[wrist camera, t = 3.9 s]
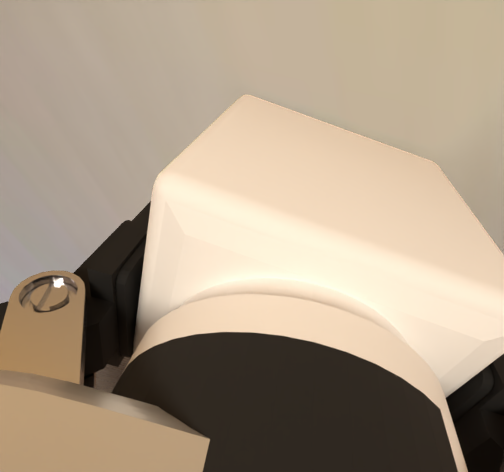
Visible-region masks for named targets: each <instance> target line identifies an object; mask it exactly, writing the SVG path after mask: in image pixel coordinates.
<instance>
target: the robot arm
mask: <svg viewBox="0 0 504 472" xmlns="http://www.w3.org/2000/svg"><path fill="white" fill-rule="evenodd" d="M150 206H151V201H150V202H149V203H148V204H147V206H146V207H145V208H144V209H143V210H142V211H141V212H140V213H139V214H138V215H137V216H136V217H135V218H134V219H133V220H132V221H129V220H127V221H125V222H123V223H122V224H121V225H120V226H119V227H118V228H117V229H116V230H115V231H114V232H113V233H112V234H111V235H110V236H109V237H108V238H107V239H106V240H105V241H104V242H103V243H102V244H101V245H100V247H99V248H98V249H97V250H96V251H95V252H94V253H93V254H92V255H91V256H90V257H89V258H88V259H87V260H86V261H85V262H84V263H83V264H82V265H81V266H80V267H79V268H78V269H77V270H76V271H75V272H74V273H70V272H66V271H47V272H42V273H39V274H36V275H33V276H31V277H29V278H27V279H25V280H24V281H22V282H21V283H20V284H19V285H18V286H17V287H16V288H15V289H14V290H13V292H12V294H11V296H10V299H9V301H8V302H5V303H1V304H0V472H203V468H204V463H205V459H206V455H207V450H208V446H209V442H210V439H209V438H207V437H206V436H204V435H202V434H200V433H198V432H197V431H195V430H193V429H192V428H190V427H188V426H187V425H185V424H184V423H182V422H181V421H180V420H178V419H176V418H175V417H173V416H171V415H170V414H168V413H166V412H165V411H163V410H162V409H161V408H160V407H158V406H155V405H151V404H148V403H144V402H141V401H138V400H134V399H130V398H127V397H123V396H119V395H116V394H112V393H109V392H105V391H101V390H98V389H96V372H97V371H99V370H102V369H104V368H105V366H106V365H107V364H109V365H112V366H116V367H119V365H120V363H121V362H122V360H123V358H124V357H131V356H132V354H133V342H134V334H135V326H136V318H137V310H138V302H139V294H140V286H141V278H142V270H143V262H144V254H145V246H146V238H147V230H148V222H149V214H150ZM446 401H447V405H448V408H449V411H450V414H451V418H452V421H453V424H454V428H455V431H456V434H457V437H458V441H459V444H460V447H461V450H462V454H463V457H464V460H465V463H466V467H467V470H468V472H504V354H502V355H501V356H500V357H499V358H497V359H496V360H495V361H493V362H492V363H491V364H489V365H488V366H487V367H485V368H484V369H483V370H482V371H480V372H479V373H478V374H476V375H475V376H474V377H472V378H471V379H470V380H469V381H467V382H466V383H465V384H463V385H462V386H461V387H459V388H458V389H457V390H455V391H454V392H453V393H452V394H450V395H449V396H448V397H446Z"/></svg>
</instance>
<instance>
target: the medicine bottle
mask: <svg viewBox="0 0 504 472" xmlns="http://www.w3.org/2000/svg"><path fill="white" fill-rule="evenodd" d="M502 354H504V255H503V253H502V252H501V251H500V249H499V248H498V247H497V245H496V244H495V242H494V241H493V240H492V238H491V237H490V236H489V234H488V233H487V231H486V230H485V229H484V227H483V226H482V225H481V223H480V222H479V221H478V219H477V218H476V216H475V215H474V214H473V212H472V211H471V210H470V208H469V207H468V206H467V204H466V203H465V201H464V200H463V199H462V197H461V196H460V195H459V193H458V192H457V190H456V189H455V188H454V186H453V185H452V184H451V182H450V181H449V180H448V178H447V177H446V175H445V174H444V173H443V171H442V170H441V169H440V167H439V166H438V165H437V164H436V163H435V162H433V161H431V160H428V159H425V158H422V157H420V156H417V155H414V154H411V153H409V152H406V151H403V150H400V149H398V148H395V147H392V146H389V145H387V144H384V143H381V142H378V141H376V140H373V139H370V138H367V137H365V136H362V135H359V134H356V133H354V132H351V131H348V130H345V129H343V128H340V127H337V126H334V125H332V124H329V123H326V122H323V121H321V120H318V119H315V118H312V117H310V116H307V115H304V114H301V113H299V112H296V111H293V110H290V109H288V108H285V107H282V106H279V105H277V104H274V103H271V102H268V101H266V100H263V99H260V98H257V97H255V96H252V95H243V96H241V97H240V98H238V99H237V100H236V101H235V102H234V103H233V104H232V105H231V106H230V107H229V108H228V109H227V110H226V111H225V112H224V113H223V114H222V115H221V116H219V117H218V118H217V119H216V120H215V121H214V122H213V123H212V124H211V125H210V126H209V127H208V128H207V129H206V130H205V131H204V132H203V133H202V134H200V135H199V136H198V137H197V138H196V139H195V140H194V141H193V142H192V143H191V144H190V145H189V146H188V147H187V148H186V149H185V150H184V151H183V152H181V153H180V154H179V155H178V156H177V157H176V158H175V159H174V160H173V161H172V162H171V163H170V164H169V165H168V166H167V167H166V168H165V169H164V170H162V171H161V172H160V173H159V174H158V176H157V179H156V181H155V183H154V186H153V190H152V198H151V206H150V214H149V222H148V230H147V238H146V246H145V254H144V262H143V270H142V278H141V286H140V294H139V302H138V310H137V318H136V326H135V334H134V342H133V354H132V357H131V359H130V361H129V362H128V364H127V366H126V368H125V369H124V371H123V373H122V375H121V376H120V378H119V380H118V382H117V383H116V385H115V387H114V389H113V390H112V392H111V393H112V394H116V395H119V396H123V397H127V398H130V399H134V400H138V401H141V402H144V403H148V404H151V405H155V406H158V407H160V408H161V409H162V410H163V411H165V412H166V413H168V414H170V415H171V416H173V417H175V418H176V419H178V420H180V421H181V422H182V423H184V424H185V425H187V426H188V427H190V428H192V429H193V430H195V431H197V432H198V433H200V434H202V435H204V436H206V437H207V438H209V439H210V442H209V446H208V450H207V455H206V459H205V463H204V468H203V472H468V470H467V467H466V463H465V460H464V457H463V454H462V450H461V447H460V444H459V441H458V437H457V434H456V431H455V428H454V424H453V421H452V418H451V414H450V411H449V408H448V405H447V401H446V397H448V396H449V395H450V394H452V393H453V392H454V391H455V390H457V389H458V388H459V387H461V386H462V385H463V384H465V383H466V382H467V381H469V380H470V379H471V378H472V377H474V376H475V375H476V374H478V373H479V372H480V371H482V370H483V369H484V368H485V367H487V366H488V365H489V364H491V363H492V362H493V361H495V360H496V359H497V358H499V357H500V356H501V355H502Z"/></svg>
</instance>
